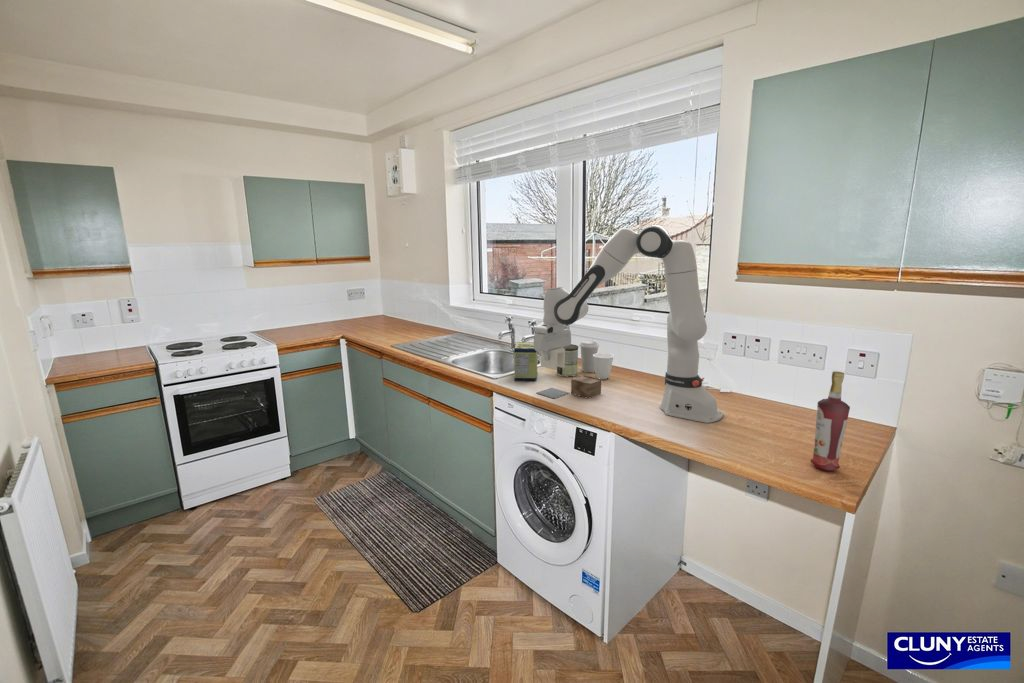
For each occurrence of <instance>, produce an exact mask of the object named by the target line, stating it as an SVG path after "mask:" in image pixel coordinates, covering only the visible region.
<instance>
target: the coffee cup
mask: <svg viewBox="0 0 1024 683" xmlns="http://www.w3.org/2000/svg"><path fill="white" fill-rule="evenodd" d="M599 346H600V345H599V343H598V341H597V340H591V339H587V340H586V339H585V340H581V342H580V344H579V347H580V359H581V360H580V362H581V371H582V372H583V371H584V372H583V373H587V372H592V373H595V372H594V371H595V365H594V358H593V354H596V353H598V349H599Z"/></svg>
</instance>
